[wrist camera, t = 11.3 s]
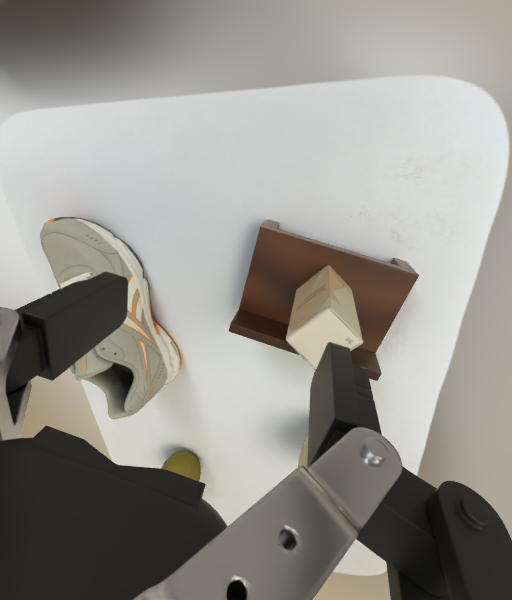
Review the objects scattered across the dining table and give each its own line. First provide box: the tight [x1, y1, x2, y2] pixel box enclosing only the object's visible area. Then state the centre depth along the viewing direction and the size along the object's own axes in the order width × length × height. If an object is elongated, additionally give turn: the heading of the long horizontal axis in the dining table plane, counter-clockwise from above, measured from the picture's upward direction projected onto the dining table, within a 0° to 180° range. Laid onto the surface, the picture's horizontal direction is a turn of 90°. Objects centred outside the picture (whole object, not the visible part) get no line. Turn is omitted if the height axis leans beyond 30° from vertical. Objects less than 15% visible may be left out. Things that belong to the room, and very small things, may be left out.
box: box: [286, 265, 363, 370], centre depth 29 cm, size 5×4×11 cm
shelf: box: [229, 220, 419, 381], centre depth 34 cm, size 12×18×9 cm, turn 75°
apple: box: [161, 451, 201, 481], centre depth 56 cm, size 8×8×7 cm
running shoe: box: [40, 217, 181, 419], centre depth 40 cm, size 11×30×14 cm, turn 24°
